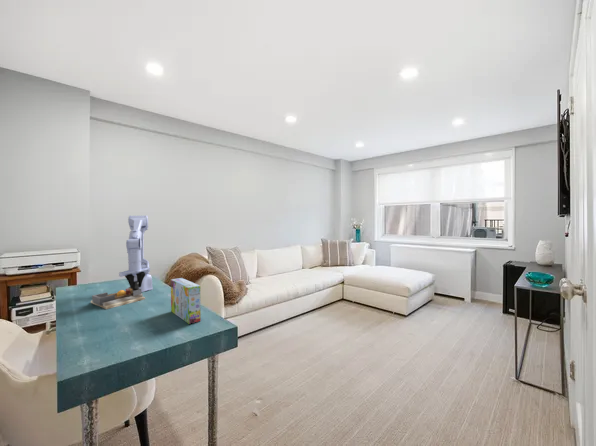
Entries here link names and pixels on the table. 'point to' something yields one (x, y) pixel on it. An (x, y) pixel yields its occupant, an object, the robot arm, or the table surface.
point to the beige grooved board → (121, 300)
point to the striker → (136, 289)
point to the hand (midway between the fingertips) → (135, 287)
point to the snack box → (186, 300)
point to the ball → (121, 293)
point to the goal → (102, 298)
